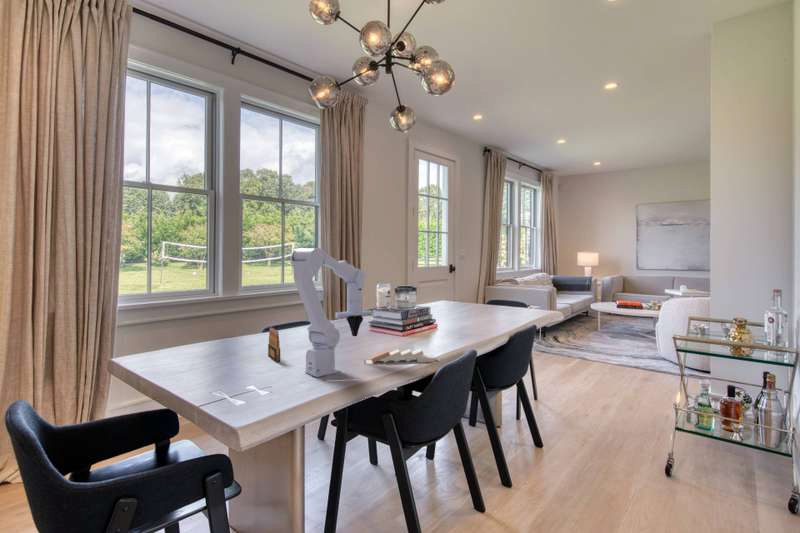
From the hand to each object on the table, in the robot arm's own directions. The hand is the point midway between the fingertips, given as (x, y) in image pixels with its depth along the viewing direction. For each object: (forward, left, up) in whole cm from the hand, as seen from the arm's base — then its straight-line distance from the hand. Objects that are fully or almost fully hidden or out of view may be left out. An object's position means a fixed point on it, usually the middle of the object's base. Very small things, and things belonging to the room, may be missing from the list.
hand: (354, 335), depth 156 cm
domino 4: (+18, -16, -9) cm, 25 cm away
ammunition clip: (-21, +24, -10) cm, 33 cm away
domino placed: (+4, -6, -9) cm, 11 cm away
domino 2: (+10, -11, -9) cm, 17 cm away
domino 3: (+14, -13, -9) cm, 21 cm away
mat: (+10, -10, -10) cm, 17 cm away
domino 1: (+7, -8, -9) cm, 14 cm away
